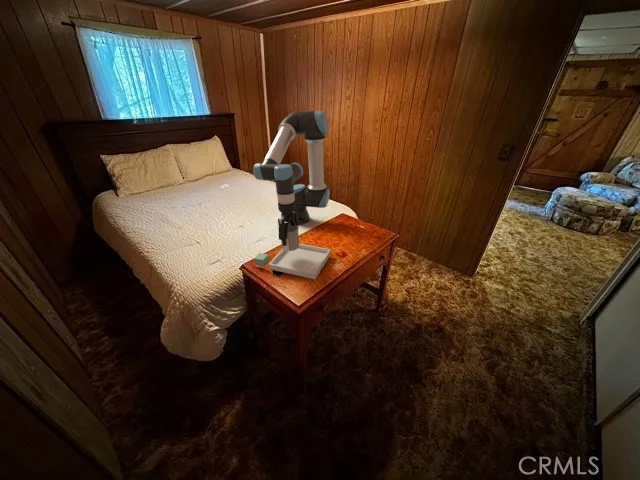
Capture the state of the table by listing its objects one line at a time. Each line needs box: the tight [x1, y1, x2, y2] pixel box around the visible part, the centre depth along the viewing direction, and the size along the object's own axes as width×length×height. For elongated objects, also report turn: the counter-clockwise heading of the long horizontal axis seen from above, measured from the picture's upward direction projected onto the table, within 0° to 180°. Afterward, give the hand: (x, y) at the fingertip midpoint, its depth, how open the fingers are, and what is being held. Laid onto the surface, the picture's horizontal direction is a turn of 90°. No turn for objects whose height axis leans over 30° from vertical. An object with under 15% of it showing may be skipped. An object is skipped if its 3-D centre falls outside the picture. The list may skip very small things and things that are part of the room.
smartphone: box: [272, 270, 285, 278], centre depth 123 cm, size 7×1×15 cm
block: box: [253, 252, 270, 267], centre depth 124 cm, size 5×5×5 cm
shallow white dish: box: [268, 243, 332, 280], centre depth 124 cm, size 22×24×4 cm
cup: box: [280, 224, 300, 251], centre depth 120 cm, size 8×8×10 cm
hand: (290, 245), depth 122 cm, fingers closed on cup, 8 cm apart
